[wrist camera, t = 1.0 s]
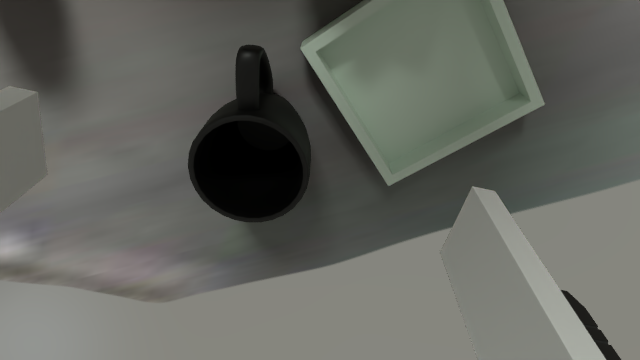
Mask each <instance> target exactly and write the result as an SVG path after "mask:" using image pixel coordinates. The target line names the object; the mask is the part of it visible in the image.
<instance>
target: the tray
mask: <svg viewBox="0 0 640 360" xmlns="http://www.w3.org/2000/svg"><path fill="white" fill-rule="evenodd" d="M300 49H301V51H302V52H303V54H304V55H305V57H306V58H307V60H308V61H309V63H310V65H311V66H312V68H313V69H314V71H315V72H316V74H317V75H318V77H319V79H320V80H321V82H322V83H323V85H324V86H325V88H326V90H327V91H328V93H329V94H330V96H331V97H332V99H333V100H334V102H335V104H336V105H337V107H338V108H339V110H340V111H341V113H342V115H343V116H344V118H345V119H346V121H347V122H348V124H349V125H350V127H351V129H352V130H353V132H354V133H355V135H356V136H357V138H358V139H359V141H360V143H361V144H362V146H363V147H364V149H365V150H366V152H367V154H368V155H369V157H370V158H371V160H372V161H373V163H374V164H375V166H376V168H377V169H378V171H379V172H380V174H381V175H382V177H383V179H384V180H385V182H386V183H387V185H388V186H390V185H392V184H394V183H396V182H398V181H400V180H401V179H403V178H405V177H407V176H409V175H411V174H413V173H415V172H417V171H419V170H421V169H422V168H424V167H426V166H428V165H430V164H432V163H434V162H436V161H438V160H440V159H442V158H444V157H445V156H447V155H449V154H451V153H453V152H455V151H457V150H459V149H461V148H463V147H465V146H467V145H468V144H470V143H472V142H474V141H476V140H478V139H480V138H482V137H484V136H486V135H488V134H489V133H491V132H493V131H495V130H497V129H499V128H501V127H503V126H505V125H507V124H509V123H511V122H512V121H514V120H516V119H518V118H520V117H522V116H524V115H526V114H528V113H530V112H532V111H534V110H535V109H537V108H539V107H541V106H543V105H545V103H544V101H543V98H542V96H541V93H540V91H539V88H538V86H537V83H536V81H535V78H534V76H533V73H532V71H531V68H530V66H529V63H528V61H527V58H526V56H525V53H524V51H523V48H522V46H521V43H520V41H519V38H518V36H517V33H516V31H515V28H514V26H513V23H512V21H511V18H510V16H509V13H508V11H507V8H506V6H505V3H504V1H503V0H363V1H361V2H360V3H358V4H357V5H356V6H354V7H353V8H351V9H350V10H348V11H347V12H345V13H344V14H342V15H341V16H339V17H338V18H336V19H335V20H333V21H332V22H330V23H329V24H327V25H326V26H324V27H323V28H321V29H320V30H318V31H317V32H315V33H314V34H312V35H311V36H309V37H308V38H306V39H305V40H303V41H302V44H301V47H300Z"/></svg>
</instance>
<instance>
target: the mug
mask: <svg viewBox="0 0 640 360" xmlns="http://www.w3.org/2000/svg"><path fill="white" fill-rule="evenodd" d="M236 98H237V99H235V100H233V101H231V102H229V103H227V104H225V105H224V106H223V107H222V108H220V109H219V110H218V111H217V112H216V113H215V114H213V115H212V116H211V117H210V119H209V120H208V121H207V123H206V124H205V125H204V127H203V128H202V129H201V131H200V132H199V134H198V135H197V136H196V138H195V139H194V141H193V143H192V146H191V149H190V152H189V159H188V169H189V174H190V179H191V181H192V184H193V186H194V188H195V190H196V191H197V193H198V194H199V196H200V197H201V198H202V200H203V201H204V202H205V203H207V204H208V205H209V206H210V207H211V208H212V209H214V210H215V211H217V212H219V213H220V214H222V215H224V216H226V217H229V218H232V219H234V220H238V221H244V222H264V221H269V220H273V219H275V218H278V217H280V216H283V215H284V214H286V213H287V212H289V211H290V210H291V209H293V208H294V207H295V206H296V204H297V203H298V202H299V201H300V200H301V199H302V197H303V195H304V193H305V191H306V189H307V185H308V181H309V175H310V163H311V150H310V142H309V138H308V134H307V131H306V128H305V125H304V123H303V122H302V120H301V118H300V116H299V114H298V113H297V112H296V110H295V109H294V108H293V106H292V105H291V104H290V103H289V102H288V101H287V100H286V99H284V98H283V97H281V96H279V95H277V94H274V93H273V79H272V72H271V68H270V64H269V60H268V57H267V54H266V52H265V50H264V48H262V47H260V46H256V45H245V46H241V47H240V49H239V51H238V53H237V57H236Z"/></svg>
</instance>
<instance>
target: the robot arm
mask: <svg viewBox="0 0 640 360" xmlns="http://www.w3.org/2000/svg"><path fill="white" fill-rule="evenodd" d="M46 175H47V165H46V157H45V148H44V140H43V131H42V123H41V114H40V106H39V97H38V92H35V91H31V90H26V89H22V88H17V87H12V86H8V87H6V88H4V89H2V90H0V213H1V212H2V211H4V210H5V209H6V208H7V207H8V206H10V205H11V204H12V203H13V202H15V201H16V200H17V199H18V198H19V197H21V196H22V195H23V194H24V193H26V192H27V191H28V190H29V189H30V188H32V187H33V186H34V185H35V184H36V183H38V182H39V181H40V180H41V179H43V178H44V177H45V176H46ZM440 254H441V257H442V259H443V262H444V265H445V268H446V271H447V274H448V277H449V280H450V282H451V285H452V288H453V291H454V294H455V296H456V299H457V302H458V305H459V308H460V311H461V314H462V316H463V319H464V322H465V325H466V328H467V331H468V334H469V336H470V339H471V342H472V345H473V348H474V351H475V354H476V356H477V359H478V360H621V359H620V357H619V356H618V355H617V353H616V352H615V350H614V349H613V347H612V346H611V345H608V340H607V339H606V337H605V336H604V334H603V333H602V331H601V330H599V329H598V328H597V327H598V326H597V324H596V323H595V321H594V320H593V319H592V317H591V316H590V314H589V313H588V311H587V310H586V308H585V307H584V306H582V305H581V304H580V303H579V302H578V301H577V300H576V299H575V298H574V297H573V296H572V295H571V294H570V293H568V292H567V291H563V290H560V289H559V287H558V286H557V284H556V283H555V281H554V280H553V278H552V277H551V275H550V274H549V272H548V271H547V269H546V268H545V266H544V265H543V263H542V261H541V260H540V259H539V257H538V256H537V254H536V253H535V251H534V249H533V248H532V246H531V245H530V243H529V242H528V240H527V239H526V237H525V236H524V234H523V233H522V231H521V230H520V228H519V227H518V225H517V224H516V222H515V221H514V219H513V217H512V216H511V214H510V213H509V211H508V210H507V208H506V207H505V205H504V204H503V202H502V201H501V199H500V198H499V196H498V195H497V193H496V192H495V191H492V190H488V189H483V188H478V187H474V186H472V188H471V190H470V192H469V194H468V196H467V198H466V200H465V202H464V204H463V206H462V208H461V210H460V213H459V215H458V217H457V219H456V221H455V223H454V225H453V227H452V229H451V231H450V233H449V235H448V237H447V239H446V241H445V243H444V245H443V248H442V250H441V252H440Z"/></svg>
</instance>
